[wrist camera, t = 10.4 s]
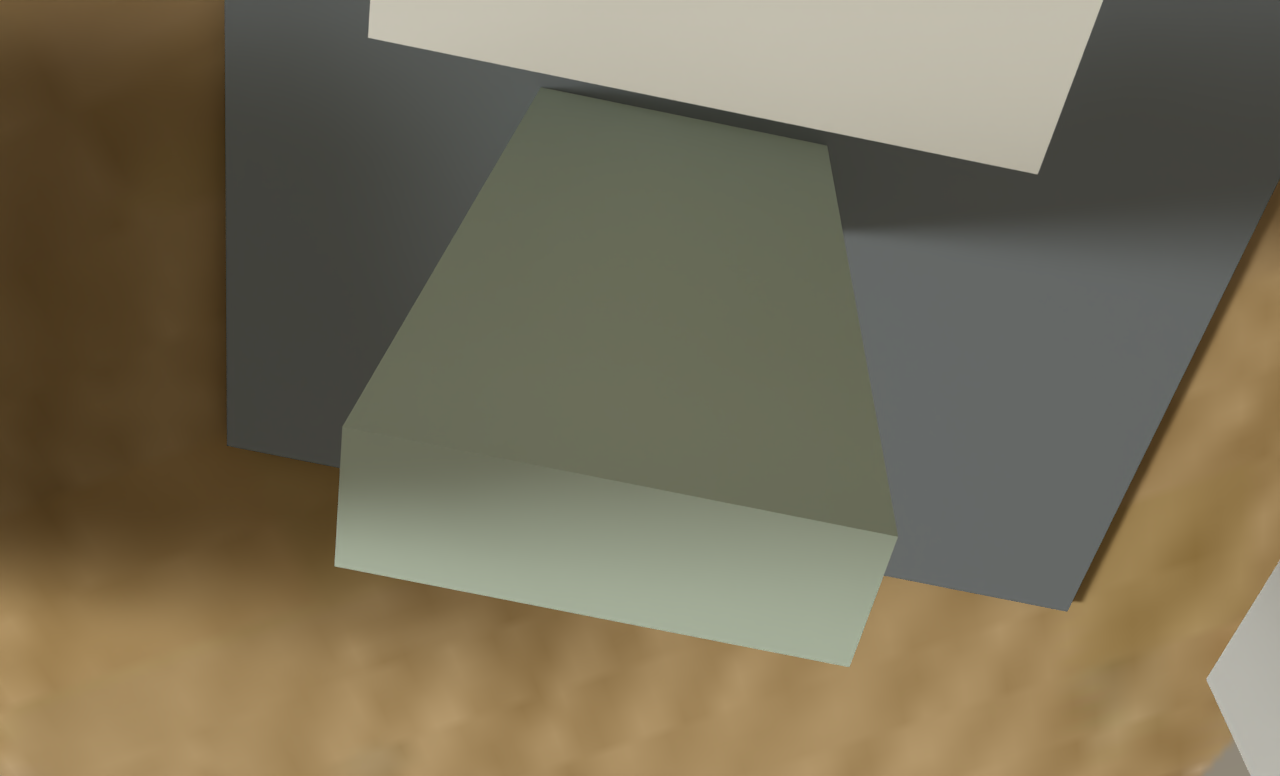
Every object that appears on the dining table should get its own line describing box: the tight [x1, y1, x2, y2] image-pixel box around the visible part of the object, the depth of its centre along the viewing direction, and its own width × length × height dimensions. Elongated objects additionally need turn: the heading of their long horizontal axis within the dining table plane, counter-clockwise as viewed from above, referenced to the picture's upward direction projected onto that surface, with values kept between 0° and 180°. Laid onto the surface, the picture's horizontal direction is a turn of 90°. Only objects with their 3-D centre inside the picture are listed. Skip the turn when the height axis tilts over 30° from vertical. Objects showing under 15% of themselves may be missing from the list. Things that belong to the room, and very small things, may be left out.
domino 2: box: [335, 87, 898, 667], centre depth 15 cm, size 2×5×11 cm, turn 80°
